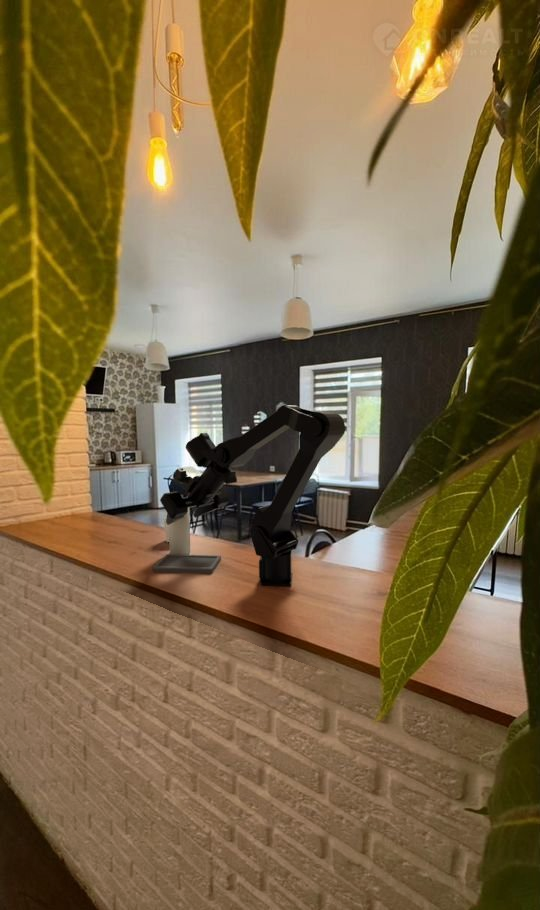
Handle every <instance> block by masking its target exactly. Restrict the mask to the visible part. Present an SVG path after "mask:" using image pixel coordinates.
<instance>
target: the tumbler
mask: <svg viewBox="0 0 540 910" xmlns="http://www.w3.org/2000/svg"><path fill="white" fill-rule="evenodd" d="M190 516H191V515H190V508H188V512H187V513H186V514H185V515H184V517H183V518H181V519H179V520H177V521H175V522H173V523H172V524H169V554H171V555H191V553H190V552H191V526H190V525H191V524H190V523H191V521H190V519H191V518H190Z"/></svg>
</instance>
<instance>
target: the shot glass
mask: <svg viewBox="0 0 540 910" xmlns="http://www.w3.org/2000/svg"><path fill="white" fill-rule="evenodd" d="M166 518H167V515H166V516H164V517H163V519H162V520H163V526H164V527H163V528H164V535H165V541H166V542H167V543H168V542H169V525H167V523H166Z"/></svg>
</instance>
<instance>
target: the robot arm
mask: <svg viewBox="0 0 540 910" xmlns="http://www.w3.org/2000/svg"><path fill="white" fill-rule="evenodd" d="M346 428H347V427H346V424H345V420H344V419H343V417H342V416H341V415H340V414H339V413H337V412H330V411H329V412H328V411H327V412H325V411H314V410H310V409H306V408H303V407H300V406H298V405H291V404H290V405H288V404H283V405H281V406H279V407H278V408H277V409H276V411H274V412H272V413H271V414H270V415H268V416H267V417H266V418H264V419H263V420H261V421H260V422H259V423H257V424H256V425H254V426H253V427H252V428H250V429H249V430H247V431H246V432H244V433H243V434H241V435H240V436H237V437H233V438H230V439H227V440H225V441H221V442H219V443H218V444H216V445H215V444H214V442H213V440H212V438H211V437H210V434H208V432H200V434H199V435H197V436H195V437H193V438H191V439H190V440H189V441H187V442H186V444H185V449H186V451H187V453H188V454H189V455H190V457H191V459H192V460H193V461H194V463H195V464H196V466H197V467H199V468H205V469H204V471H203V472H200V471H199V470H198V469H196V468H195V467H194V466H184V467H183V466H182V467H179V468H177V469H176V470H175V471H174V472H173V475H172V478H173V480H174V481H175V482H176V483H177V484H182V485H183V486H185V487H184V488H183V490H184V491H185V493H187V497H185V498H184V497H182V495H181V493H180V492H179V491H170V492H166V493H163V495H162V496H161V497H160V499H159V502H160V503H161V505H162V507H163V508H164V509H165V511H166V516H167V518H166V523H167V525H169V524H172V523H173V522H175V521H177V520H179V519H181V518H183V517H184V515H185V514H186V513H187V512H188V508H189V509H190V508H194V507H196V508H195V510H194V512H193V514H192V515H193V517H194V518H195V519H196V518H198V517H200V516H203V515H206V514H209V513H210V512H213V511H216V510H218V509H221V508H223V507H226V506H227V504H228V503H229V502H230V501H229V500H230V498H229V497H230V496H229V495H228V494H227V492H226V490H225V489H224V488H223V486H224V485H225V484H226V485H229V484H235V483H237V482H238V478H237V475H236V471H233V470H232V468H235V467H243V466H245V465H246V464H247V463H248V462H249V461H250V460H251V459H253V457H254V455H255V453H256V452H257V450H259V449H260V448H262V446H264V445H266V444H267V443H268V442H271V441H272V440H273V439H275V438H277V436H280V435H281V434H283V433H284V432H285V431H287V430H288V429H291V430H293V431H295V432H298V433H299V435H298V437H299V438H298V440H299V441H298V443H299V444H298V447H299V448H298V450H297V452H296V455H295V457H294V458H293V460H292V462H291V464H290V466H289V468H288V470H287V473H286V474H285V475H284V478H283V480H282V481H281V484H280V486H279V488H278V489H277V490H276V493H275V495H274V497H273V499H272V501H271V502H270V504H269V505H268V504H267V505H265V506H262V507H258V508H256V510H255V513H254V516H253V518H252V519H251V520H249V524H250V527H249V534H250V538H251V542H252V544H253V549H254V551H255V555H256V556H258V557H259V560H258V578H259V580H260V585H261V586H287V587H288V586H289V587H291V586H292V583H293V582H292V581H293V572H292V569H293V568H292V567H293V566H292V564H293V563H292V557H293V556H292V551H293V550H297V547H298V544H299V539H298V538H297V536H296V535H295V534H294V533H293V532H292V530H291V529H290V528H291V525H292V513H293V510H294V508H295V507H296V505H297V503H298V502H299V499H300V497H301V496H302V494H303V492H304V490H305V488H306V486H307V484H308V483H309V481H310V480H311V477H312V475H313V474H314V472H315V470H316V468H317V466H318V464H320V461H321V460H322V458H323V457H325V455H327V454H328V453H329V452H330V451H331V450H332V449H333V448H334V447H336V445H337V444H338V442H339V441H340V440H341V439H342V438H343V436H344V435H345V432H346Z"/></svg>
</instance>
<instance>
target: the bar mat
mask: <svg viewBox="0 0 540 910" xmlns="http://www.w3.org/2000/svg"><path fill="white" fill-rule="evenodd" d="M221 561H222V555H219V554H218V555H213V554H210V555H208V554H207V555H206V554H188V555H171V554H170V553H169V554H165V555H164V556H163V557H162V558H161V559H160V560H159V561H158V562H157V563H156V564H154V565H153V567H152V572H153V573H184V574H186V573H191V574H192V573H193V574H194V573H195V574H196V573H197V574H213V573H214V571H215V570H216V568H217V567H218V565H219V564H220V562H221Z"/></svg>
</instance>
